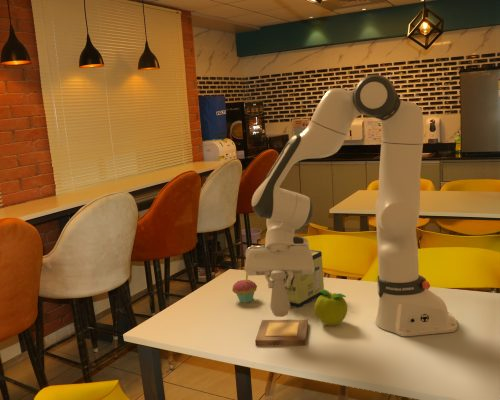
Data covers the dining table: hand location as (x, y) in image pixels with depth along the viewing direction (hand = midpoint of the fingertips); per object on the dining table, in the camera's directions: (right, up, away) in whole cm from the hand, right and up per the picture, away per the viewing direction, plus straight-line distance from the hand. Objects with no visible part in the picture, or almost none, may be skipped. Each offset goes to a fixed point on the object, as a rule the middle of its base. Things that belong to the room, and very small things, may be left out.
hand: (278, 287), depth 147 cm
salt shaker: (+1, -8, +2) cm, 8 cm away
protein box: (+9, -9, +31) cm, 33 cm away
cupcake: (-10, -10, +33) cm, 36 cm away
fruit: (+16, -12, +7) cm, 22 cm away
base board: (+1, -14, +3) cm, 15 cm away
